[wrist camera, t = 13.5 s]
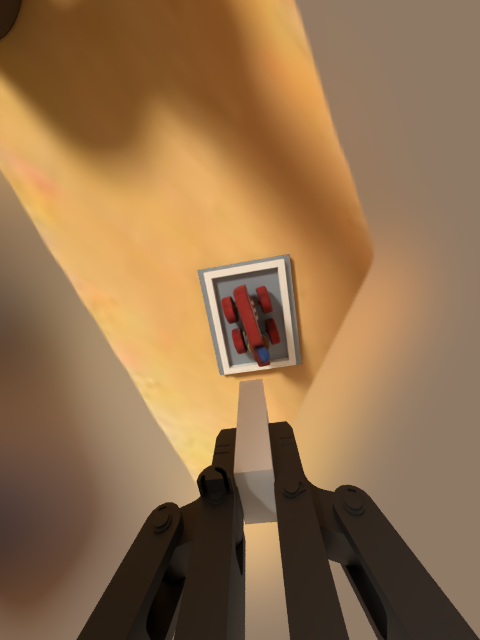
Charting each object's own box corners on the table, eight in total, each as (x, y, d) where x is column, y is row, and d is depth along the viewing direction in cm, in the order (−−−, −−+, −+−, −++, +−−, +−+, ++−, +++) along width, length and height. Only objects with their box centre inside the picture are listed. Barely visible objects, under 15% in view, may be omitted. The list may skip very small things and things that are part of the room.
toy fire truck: (242, 358, 38) (239, 393, 28) (219, 287, 35) (207, 298, 25) (282, 347, 37) (294, 380, 27) (262, 274, 34) (268, 280, 24)
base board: (199, 269, 35) (196, 270, 33) (287, 254, 34) (290, 254, 32) (220, 371, 40) (219, 378, 38) (299, 361, 39) (302, 366, 37)
